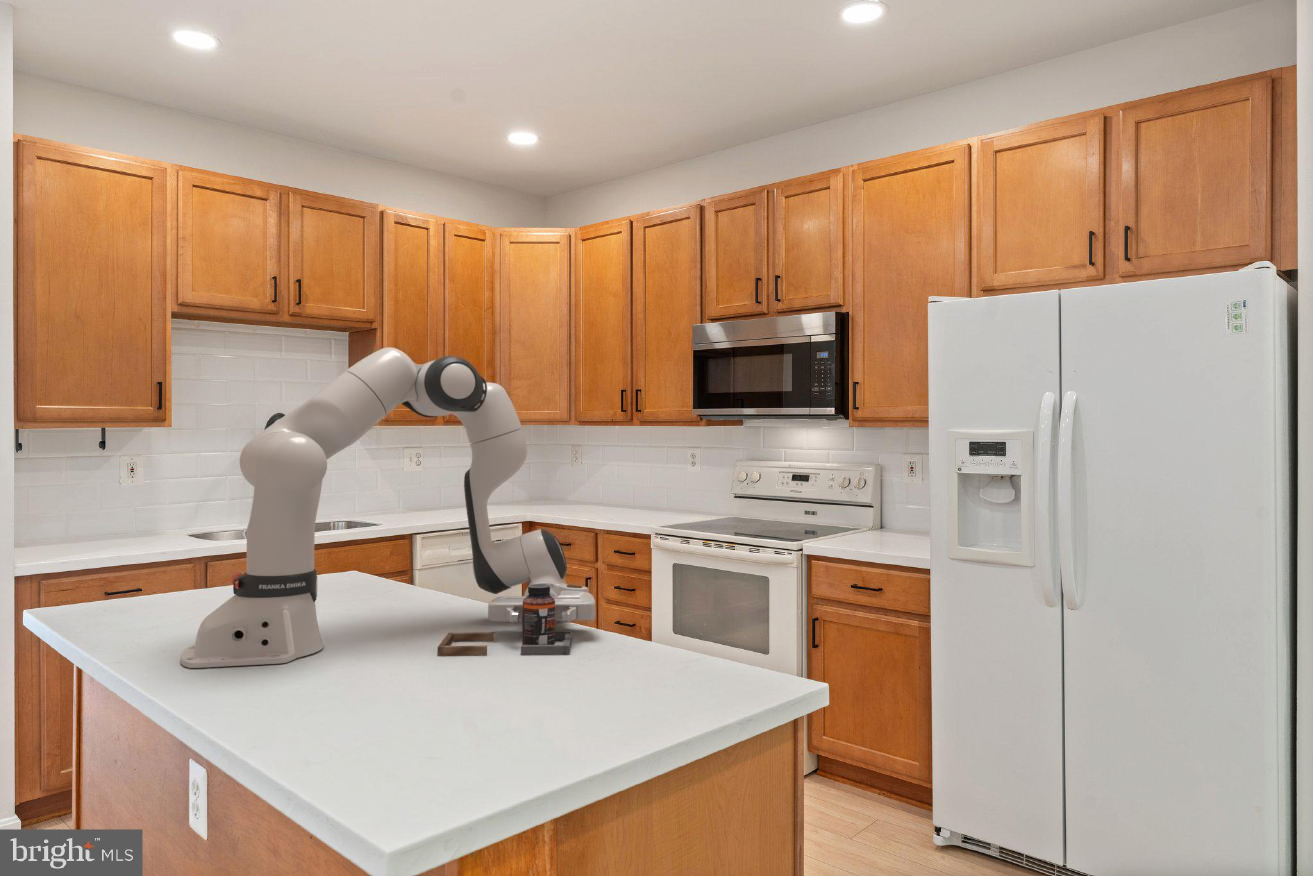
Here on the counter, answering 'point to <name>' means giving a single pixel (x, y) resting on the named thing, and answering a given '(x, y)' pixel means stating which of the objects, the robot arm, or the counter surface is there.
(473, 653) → the walnut bay
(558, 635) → the charcoal bay
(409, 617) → the counter surface
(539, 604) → the supplement bottle
